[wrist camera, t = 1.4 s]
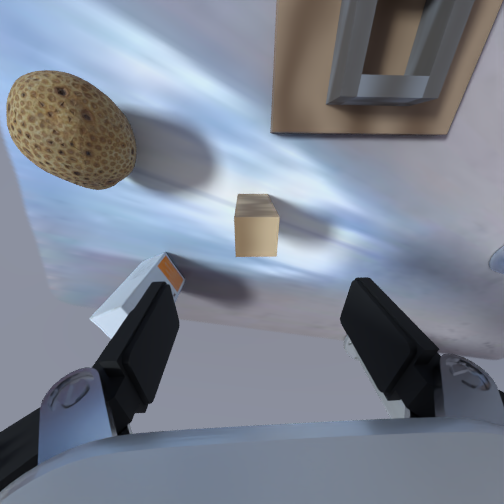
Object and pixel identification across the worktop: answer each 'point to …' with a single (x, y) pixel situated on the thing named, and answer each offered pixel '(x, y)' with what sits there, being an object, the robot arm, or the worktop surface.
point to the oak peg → (255, 226)
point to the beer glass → (497, 261)
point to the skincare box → (136, 292)
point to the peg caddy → (375, 64)
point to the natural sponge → (70, 129)
